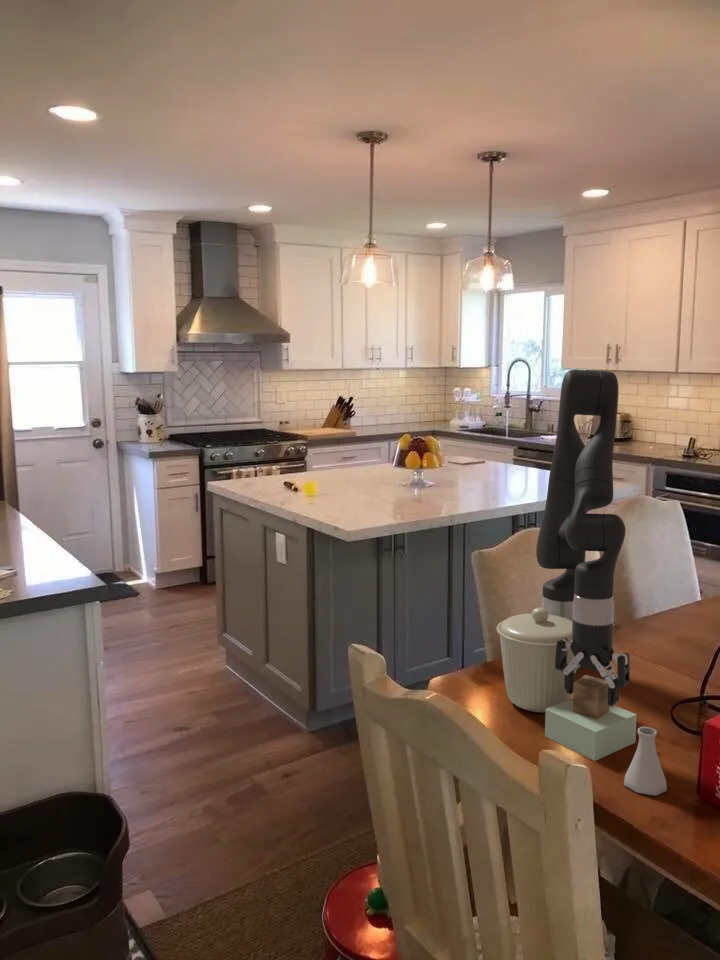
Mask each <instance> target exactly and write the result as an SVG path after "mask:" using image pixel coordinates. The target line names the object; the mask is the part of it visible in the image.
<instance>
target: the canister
mask: <svg viewBox="0 0 720 960" xmlns="http://www.w3.org/2000/svg"><path fill="white" fill-rule="evenodd" d="M496 632H497V634H498V635H499V638H500V641H499V642H500V647H501V648H500V649H501V659H502V669H503V676H504V684H505V690H506V695H507V697H508V699H509V700H510V701H511V703H512V704H513V705H515V706H516V707H517V708H519V709H523V710H526V711H529V712H534V713H544V714H545V709H547V708H549V707H552V706H555V705H557V704H560V703H563V702H565V701H568V700H571V699H572V697H573V693H572V694H568V693H567V692H566V690H565V688H564V677H565V675H564V673H563V672H562V671H561V670H557V669H556V668H555V659H556V647H557V642H558V641H559V640H561V639H563V638H567V639H568V641H570V642H572V641H573V639H572V621H570V620H568V619H566V618H563V617H559V616H555V615H549V613H548V611H547V610H546V609H544V608H542V607H535V608H534V609H532V611H531V613H522V614H515V615H513V616H509V617H508V618H506V619H504V620H502V621H500V622H499V623H497V626H496ZM574 658H575V656H574V654H573V653H572V651H571V649H570V650H568V653H567V664H569V663H570V662H571V661H572V660H573V659H574ZM574 673H576V674H575V676H576V675H577V670H575V671H574Z"/></svg>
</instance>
